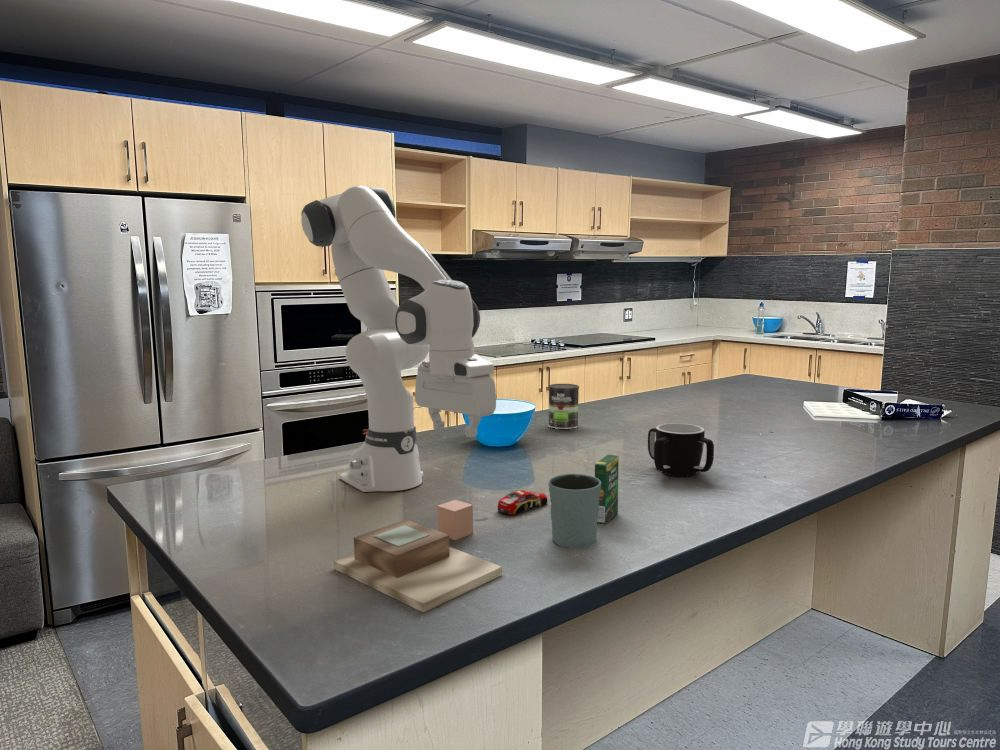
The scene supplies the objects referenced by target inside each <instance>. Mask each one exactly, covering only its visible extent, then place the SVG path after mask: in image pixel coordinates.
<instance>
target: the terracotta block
mask: <svg viewBox="0 0 1000 750" xmlns="http://www.w3.org/2000/svg"><path fill="white" fill-rule="evenodd" d="M436 507H437V508H436V510H437V511H436V512H437V531H439V532H442V533H445V534H447V535H449V540H453V541H458V540H460V539H462V538H465V537H467V536H470V535H472V534H474V514H473V512H474V508H473V507H474V506H473V504H470V503H469V502H465V501H461V500H458V499H453V500H450V501H447V502H444V503H440V504H438V505H437V506H436Z"/></svg>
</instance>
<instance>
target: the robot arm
mask: <svg viewBox="0 0 1000 750" xmlns="http://www.w3.org/2000/svg"><path fill="white" fill-rule="evenodd" d="M300 222H301V228H302V231H303V233H304V235H305V236H306V238H307V240H308V242H309V243H311V244H312V245H313V246H316V247H330V246H331V247H330V248H331V249H330V250H331V251H330V252H331V257H332V262H333V263H332V264H333V266H334V267H333V268H334V270H335V274H336V277H337V280H338V282H339V285H340V288H341V291H342V293H343V297H344V299H345V302H346V305H347V307H348V310H349V312H350V313H351V315H353V317H355V318H356V319H357V320H359V321H360V322H362V324H364V326H365V327H366V328H367V330H365V331H363V332H360V333H358V334H356V335H355V336H353V337H352V338H351V339H350V340H349V341H348V342H347V344H346V348H345V358H346V359H345V360H346V362H347V364H348V366H349V368H350V369H351V371H353V372H354V373H355V374H356V375H357V376H358V377H359V379H360V381H361V383H362V386H363V388H364V392H365V395H366V400H367V410H368V411H367V412H368V413H367V414H368V428H367V429H365V428H364V429H362V432H363V433H362V435H365V438H364V443H363V444H361V445H360V446H359V447H358V448H357V449H356V450H355V451H354V452H352V453H351V455H350V456H349V459H348V470H346V471H344V472H342V473H340V474H339V479H340V480H341V481H343V482H345V483H347V484H348V485H350V486H352V487H353V488H356V489H357V490H358V491H360V492H363V493H366V492H367V493H370V492H396V491H397V492H398V491H404V490H409V489H413V488H415V487H418V486H420V485H421V484H422V482H423V477H424V471H423V470H421V462H420V454H419V447H418V445H417V444H416V441H417V433H418V432H417V427H416V426H415V412H414V401H415V403H416V405H417V406H418V407H422V408H426V409H428V415H429V416H430V419H431V421H432V424H433V426H432V427H433V430H434V431H437V432H441V431H444V430H445V428H446V427H445V421H444V420H443V419H442V417H441V414H440V413H441V412H442V411H445V412H446V411H447V412H451V413H458V414H463V415H467V419H468V421H469V424H468V426H467V427H464V432H465V433H464V434H465V437H467V438H468V437H469V438H475V437H477V435H478V426H479V424H480V422H481V420H482V417H486V416H487V417H488V416H490V415H491V416H492V415H494V412H495V411H496V409H497V390H496V382H495V380H494V378H493V376H492V375H493V374H494V372H495V365H494V363H493V362H492V361H489V360H488V359H486V358H484V357H482V356H480V355H479V354H477V353H475V343H474V341H473V340H474V339H473V338H474V337H475V335H476V334H477V332H478V330H479V327H480V324H481V313H480V311H479V308H478V305H477V304H476V303H475V301H474V300H473V298H472V295H471V294H472V293H471V291H470V288H469V286H468V285H467V284H466V283H464V282H462V281H459V280H454V279H452V278H451V277H450V275H448V273H447V272H446V271H445V270H444V269H443V267H442V266H441V265H440V263H439V262H438V261H437V260H436V259H435V257H434V256H433V255H432V253H430V252H429V250H428V249H426V248H425V247H424V245H422V244H421V243H419V242H418V241H416V240H415V238H413V237H412V236H410V234H408V232H407V231H406V230H405V229H404V228H403V227H402V226H401V225H400V224H399V222H398V221H397V220H396V208H395V203H394V201H393V199H392V197H391V195H390V194H389V192H388V191H387V190H386V189H384V188H383V187H368V186H363V185H356V186H352V187H351V186H350V187H349V188H347V189H346V190H344V191H343V192H342V193H340V194H334V195H331V196H329V197H326V198H323V199H319V200H318V199H316V200H314V201H311V202H309V203H307V204H306V205H304V206H303V208H302V210H301V221H300ZM384 271H388V272H393V273H396V274H400V275H403V276H406V277H408V278H411V279H412V280H414V281H416V282H417V283H418V284H419V285H420V286H421V287H422V289H423V291H422V292H421V293H419V294H418V295H416V296H413V297H411V298H408V299H405V300H403V301H402V302H401V303H400V305H399V303H398V302H397V300H396V298H395V296H394V294H393V291H392V289H391V287H390V285H389V284H390V283H389V282H388V279H387V276H386V274H385V272H384ZM427 356H428V357H429V360H428V361H426V360H425V359H426V358H427ZM417 365H419V366H418V367H417V374H416V377H415V388H414V397H413V394H412V393H411V392H410V390H408V389H407V388H406V387H405V384H404V381H403V378H402V372H401V371H404V370H410V369H412V368H415V367H416V366H417Z"/></svg>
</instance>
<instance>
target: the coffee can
mask: <svg viewBox="0 0 1000 750" xmlns="http://www.w3.org/2000/svg"><path fill="white" fill-rule="evenodd" d="M579 391H580V385H578V384H573V383H552V384H549V385H548V428H550V427H551V428H550V429H552V428H555V429H554V430H559V429H570V430H572V429H571V428H576V427H578V428H579V401H580V400H579V396H580V394H579ZM576 429H577V428H576Z"/></svg>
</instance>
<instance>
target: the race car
mask: <svg viewBox="0 0 1000 750" xmlns="http://www.w3.org/2000/svg"><path fill="white" fill-rule="evenodd" d="M547 503H548V497H547V495H546V494H545V493H544V492H541V491H536V490H535V491H532V490H531V491H530V490H529V491H526V490H523V489H522V490H521V489H518V490H515V491H512V492H511V493H508V494H506V495H504V497H501V498H500V499H499V500H498V502H497V511H498V512H501V513H504V514H506V515H507V514H508V515H521V514H523V512H524V513H525V512H527V511H531V510H534V509H536V508H538V507H543V506H546V505H547Z"/></svg>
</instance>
